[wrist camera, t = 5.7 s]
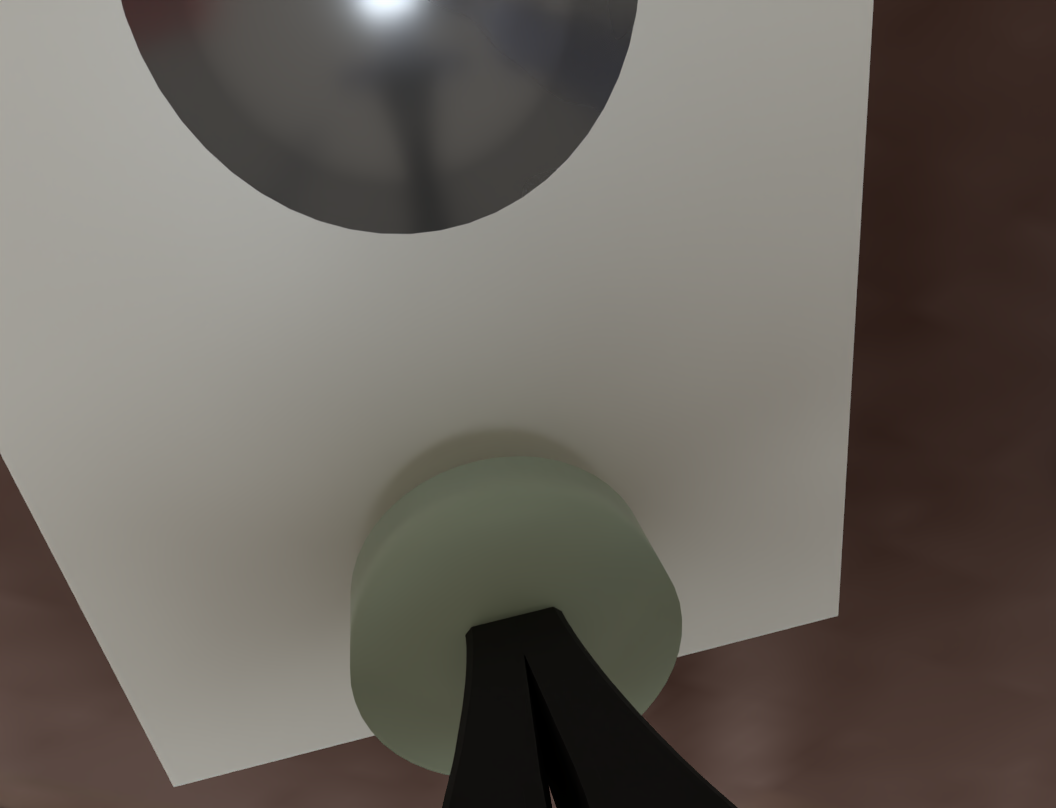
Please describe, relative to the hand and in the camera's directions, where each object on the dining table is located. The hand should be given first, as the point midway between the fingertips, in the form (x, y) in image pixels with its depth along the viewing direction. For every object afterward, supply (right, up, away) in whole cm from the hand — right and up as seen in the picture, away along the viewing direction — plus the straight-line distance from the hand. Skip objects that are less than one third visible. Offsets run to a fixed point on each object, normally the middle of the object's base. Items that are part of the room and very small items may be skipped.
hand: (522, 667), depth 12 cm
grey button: (-2, +9, -2) cm, 9 cm away
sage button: (0, +1, +2) cm, 2 cm away
